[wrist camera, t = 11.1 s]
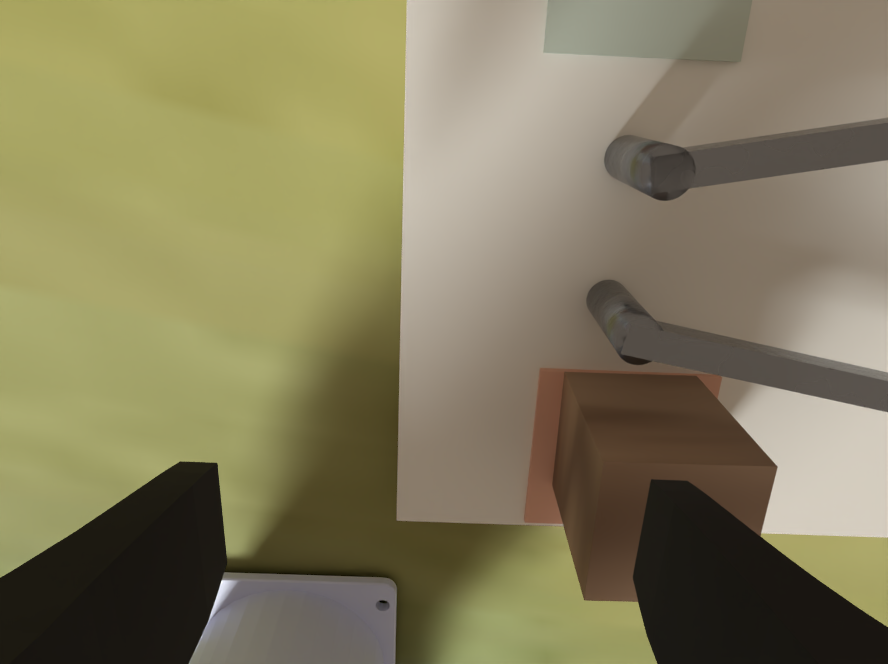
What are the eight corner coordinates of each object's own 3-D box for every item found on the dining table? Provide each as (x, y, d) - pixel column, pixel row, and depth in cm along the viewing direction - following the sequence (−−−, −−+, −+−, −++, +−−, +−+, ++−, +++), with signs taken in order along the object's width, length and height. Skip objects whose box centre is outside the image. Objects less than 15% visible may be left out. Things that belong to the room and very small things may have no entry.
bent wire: (875, 373, 20) (962, 430, 16) (578, 361, 19) (605, 416, 16) (961, 93, 17) (1087, 93, 13) (614, 77, 17) (656, 74, 13)
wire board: (898, 511, 23) (932, 542, 22) (399, 494, 23) (396, 524, 21) (1123, -132, 16) (1196, -156, 15) (413, -170, 16) (410, -198, 14)
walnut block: (675, 488, 21) (743, 604, 16) (552, 485, 21) (584, 600, 16) (696, 375, 19) (777, 466, 15) (564, 371, 19) (603, 461, 15)
